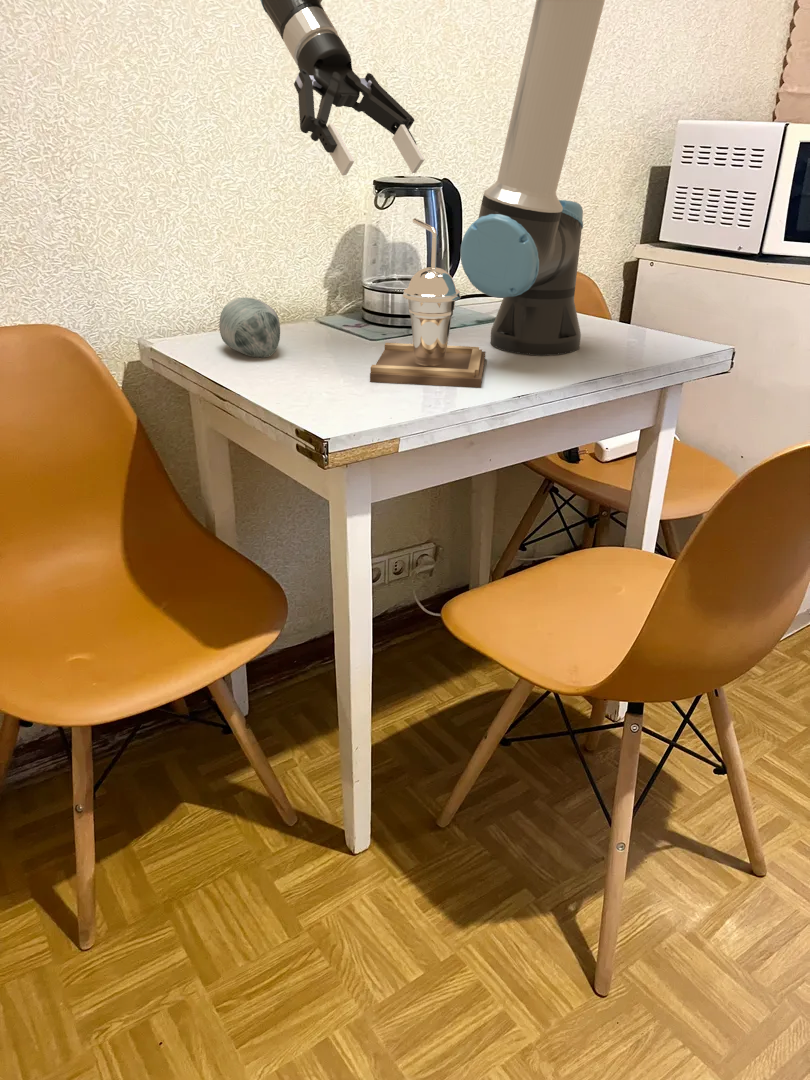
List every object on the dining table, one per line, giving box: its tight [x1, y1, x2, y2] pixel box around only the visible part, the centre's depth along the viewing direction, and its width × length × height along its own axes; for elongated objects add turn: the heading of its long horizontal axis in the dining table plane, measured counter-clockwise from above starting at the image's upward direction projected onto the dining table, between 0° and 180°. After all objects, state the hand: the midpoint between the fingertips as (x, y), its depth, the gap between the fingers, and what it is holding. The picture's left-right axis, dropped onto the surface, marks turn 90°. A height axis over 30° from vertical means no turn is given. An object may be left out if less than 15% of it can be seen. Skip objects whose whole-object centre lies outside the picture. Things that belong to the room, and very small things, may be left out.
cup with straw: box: [402, 217, 462, 366], centre depth 120 cm, size 8×9×20 cm
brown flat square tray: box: [369, 342, 486, 389], centre depth 124 cm, size 16×16×2 cm
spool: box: [218, 296, 281, 359], centre depth 132 cm, size 14×10×10 cm
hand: (384, 167), depth 119 cm, fingers open, 13 cm apart
